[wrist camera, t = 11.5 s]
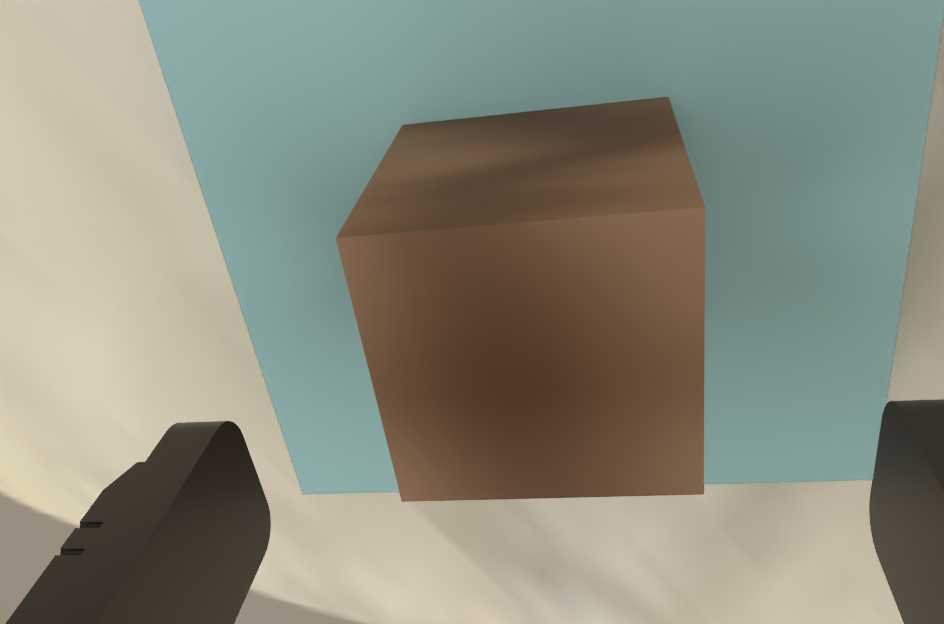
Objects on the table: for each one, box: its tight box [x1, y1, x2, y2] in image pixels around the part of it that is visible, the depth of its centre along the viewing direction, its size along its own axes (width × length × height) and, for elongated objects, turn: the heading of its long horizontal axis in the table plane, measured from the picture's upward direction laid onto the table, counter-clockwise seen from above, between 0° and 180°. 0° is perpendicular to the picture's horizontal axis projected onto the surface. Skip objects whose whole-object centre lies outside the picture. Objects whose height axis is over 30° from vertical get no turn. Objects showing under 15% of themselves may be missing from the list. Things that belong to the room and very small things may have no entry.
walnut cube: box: [336, 97, 705, 502], centre depth 14 cm, size 5×5×5 cm
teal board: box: [139, 0, 944, 494], centre depth 17 cm, size 14×14×2 cm
